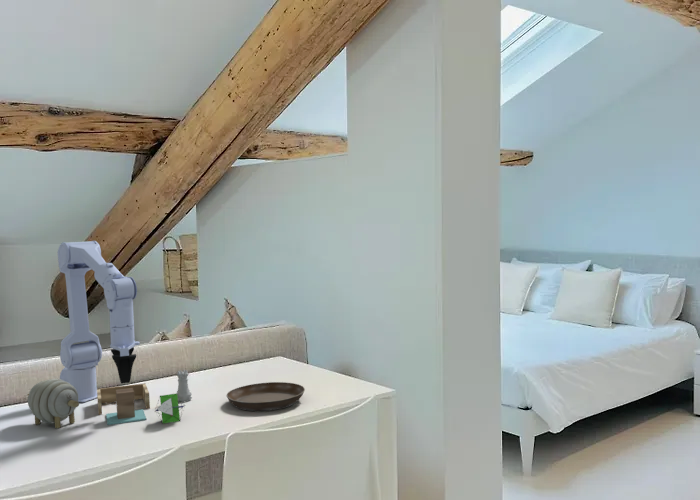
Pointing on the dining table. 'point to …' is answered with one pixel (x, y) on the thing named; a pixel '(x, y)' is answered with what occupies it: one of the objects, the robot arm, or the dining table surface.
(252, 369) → the dining table surface
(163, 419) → the geometric puzzle
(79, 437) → the dining table surface
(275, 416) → the dining table surface
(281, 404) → the plant saucer
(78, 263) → the robot arm
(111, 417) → the teal mat
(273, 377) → the dining table surface
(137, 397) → the oak open-side box
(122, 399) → the walnut block
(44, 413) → the toy sheep
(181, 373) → the rook chess piece
